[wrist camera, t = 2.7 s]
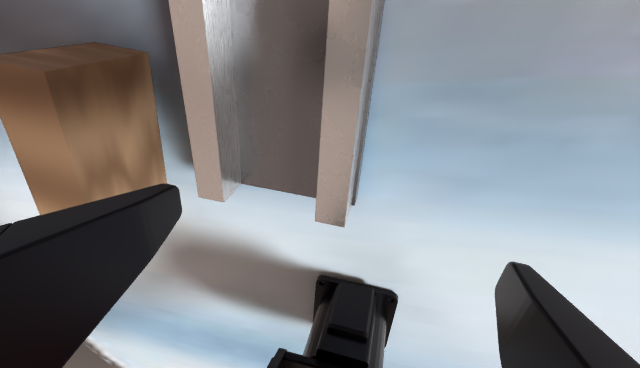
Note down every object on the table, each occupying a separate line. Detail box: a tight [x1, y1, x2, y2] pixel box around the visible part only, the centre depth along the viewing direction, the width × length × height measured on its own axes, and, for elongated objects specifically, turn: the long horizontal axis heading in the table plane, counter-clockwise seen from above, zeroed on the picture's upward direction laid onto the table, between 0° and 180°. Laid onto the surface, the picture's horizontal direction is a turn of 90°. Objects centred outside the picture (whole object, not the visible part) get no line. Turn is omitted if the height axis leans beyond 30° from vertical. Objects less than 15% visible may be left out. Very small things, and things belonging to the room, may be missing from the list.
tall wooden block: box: [0, 43, 167, 215], centre depth 22 cm, size 14×4×7 cm, turn 173°
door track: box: [168, 0, 385, 227], centre depth 16 cm, size 22×10×4 cm, turn 176°
